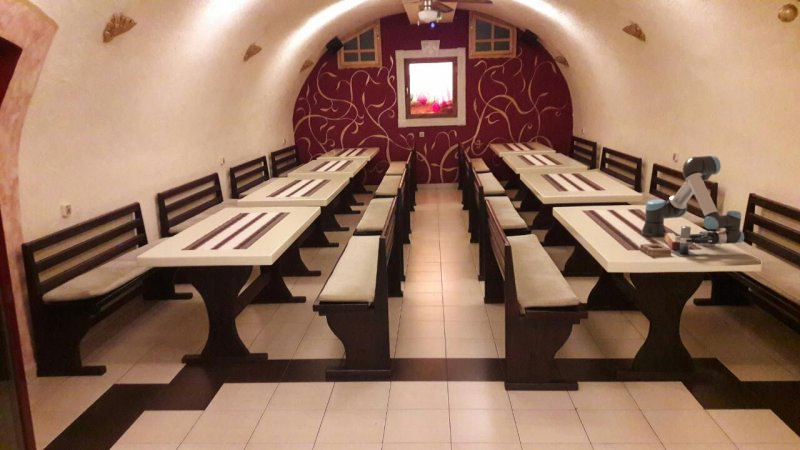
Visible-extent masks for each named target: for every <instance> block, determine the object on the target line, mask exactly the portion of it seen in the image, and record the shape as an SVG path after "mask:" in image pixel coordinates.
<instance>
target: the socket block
mask: <svg viewBox="0 0 800 450" xmlns="http://www.w3.org/2000/svg"><path fill="white" fill-rule="evenodd" d="M639 249H640V250H639V251H640V252H641V253H643V252H644V253H643V254H646V256H649V257H650V258H652V257H653V258H654V257H665V256H666V257H668V256H672V253H671V251H672V250H671V248H670V247H669V246H668V247H667V246H665V245H664V244H662V243H643V244H642V243H640V247H639Z"/></svg>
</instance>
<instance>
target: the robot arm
mask: <svg viewBox="0 0 800 450" xmlns="http://www.w3.org/2000/svg"><path fill="white" fill-rule="evenodd" d="M721 166H722V165H721V161H720V159H719V157H717V156H716V155H705V156H702V155H701V156H692V157H690V158H687V159H686V161H685V162H684V163H683V166H682V175H683V177H684V180H685V181H684V182H683V184H682V185H681V187H680V188H679V189H678V190H677V192H676V193H675V195H671V196H670V197H669V199H668V200H664V199H661V198H660V199H651V200H648V201H647V202H646V203H645V217H644V224H643V227H642V230H641V235H642V236H645V237H650V238H660V237H661V238H663V237H665V234H666V233H667V231H666V228H665V223H664V222H665V219H678V218H681V217H684V216H685V215H686V213H687V211H688V210H687V209H688V203H687V202H688V201H689V200H690V199H691V198H692V196H693V195H694V197H695V199H696V201H697V203H698V205H699V207H700V209H701V212H702V213H703V216H704V219H703V221H702V222H703V227H704V228H705V229H706V230H718V229H724V230H722V231H721V230H719V231H713V232H708V234H707V235H705V234H703V235H700V233H692V234H691V233H690V238H680V237H681V235H676V236H675V241H680V243H689V244H695V245H696V244H697V245H699V244H700V243H709V244H714V245H720V246H721V245H722V244H723V245H727V244H734V245H735V244H740V243H743V241H744V240H745V235H744V234H745V233H744V232H743V230H741V222H742V213H741V212H740V211H739V210H728V211H727V212H726V214H723V215H720V213H719V210H718V209H717V207H716V205H715V203H714V201H713V198H712V197H711V195H710V193H709V192H710V191H708V189H707V186H706V184H705V182H704V181H708V180H709V179H710V178H711V176H714V175H715V176H716V175H717V174H719V172H720V171H721V169H722V168H721Z"/></svg>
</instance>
